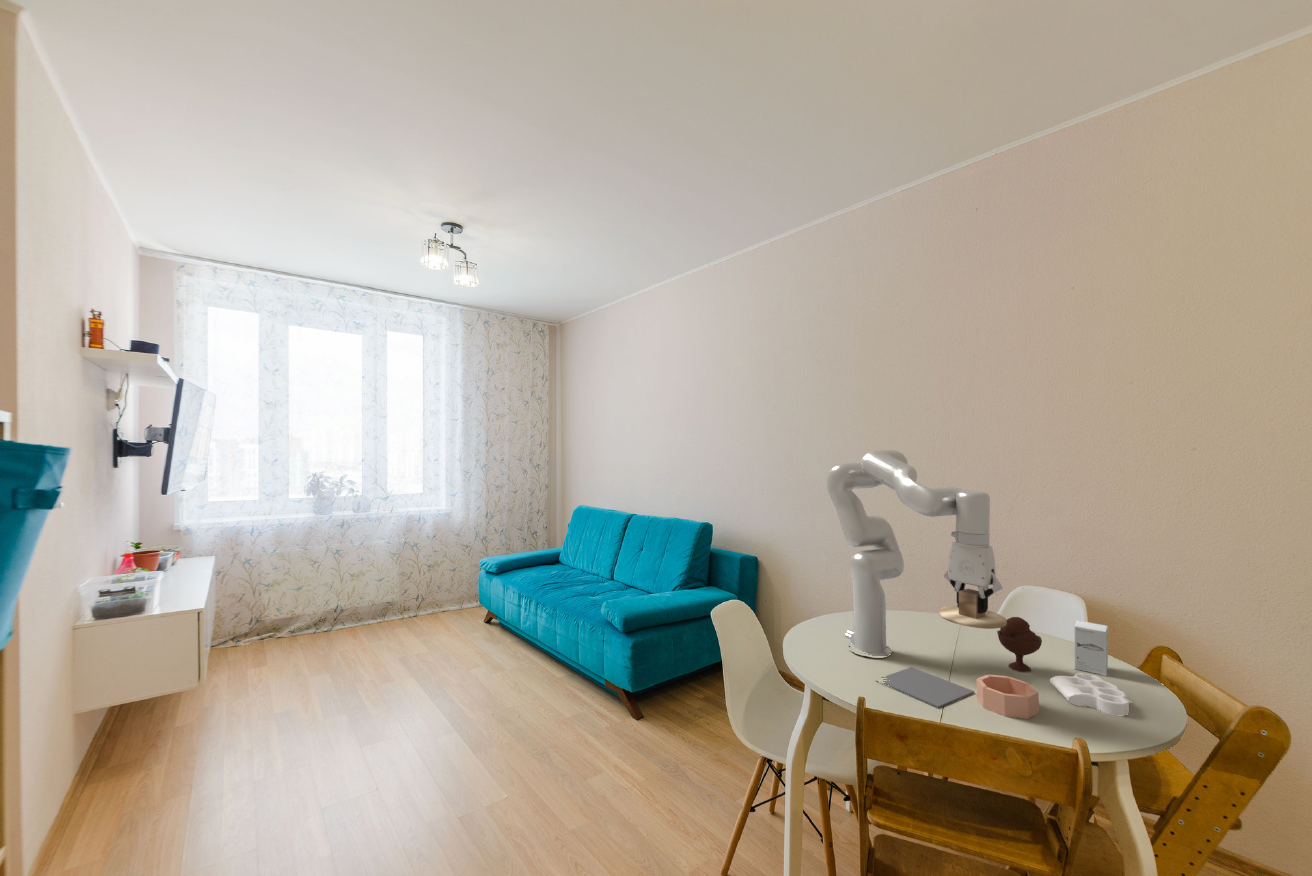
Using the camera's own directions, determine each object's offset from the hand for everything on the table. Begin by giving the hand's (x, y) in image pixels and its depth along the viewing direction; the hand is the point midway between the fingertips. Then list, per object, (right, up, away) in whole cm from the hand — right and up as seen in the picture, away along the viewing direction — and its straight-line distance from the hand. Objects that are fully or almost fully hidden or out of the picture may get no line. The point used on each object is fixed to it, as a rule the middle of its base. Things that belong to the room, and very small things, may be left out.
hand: (971, 609), depth 139 cm
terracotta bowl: (+6, -23, -5) cm, 24 cm away
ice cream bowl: (+24, -23, +18) cm, 38 cm away
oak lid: (0, -2, 0) cm, 2 cm away
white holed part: (+31, -23, -1) cm, 38 cm away
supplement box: (+45, -23, +17) cm, 53 cm away
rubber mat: (-9, -23, +6) cm, 25 cm away
